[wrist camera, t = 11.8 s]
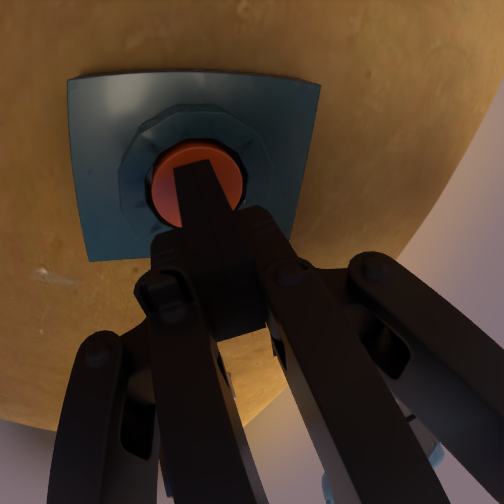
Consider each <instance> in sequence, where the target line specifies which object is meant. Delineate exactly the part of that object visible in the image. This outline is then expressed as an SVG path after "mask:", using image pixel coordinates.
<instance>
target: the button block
mask: <svg viewBox="0 0 504 504" xmlns="http://www.w3.org/2000/svg"><path fill="white" fill-rule="evenodd" d="M320 89H321V85H320V84H317V83H313V82H310V81H306V80H302V79H296V78H290V77H283V76H276V75H268V74H259V73H250V72H238V71H225V70H205V69H150V70H131V71H117V72H106V73H97V74H89V75H81V76H77V77H74V78H71V79H68V80H67V105H68V126H69V140H70V151H71V161H72V170H73V178H74V185H75V192H76V198H77V205H78V211H79V216H80V222H81V227H82V232H83V237H84V242H85V246H86V251H87V255H88V259H89V262H94V261H108V260H122V259H136V258H149V257H151V255H150V245H151V243H152V241H153V239H154V237H155V235H156V234H159V233H163V232H166V231H169V230H173V229H176V228H180V227H177V226H175V225H173V224H171V223H169V222H168V221H166V220H165V219H164V218H163V217H162V216H161V215H160V214H159V213H158V211H157V209H156V208H155V205H154V203H153V199H152V170H153V166H154V163H155V161H156V159H157V157H158V156H159V155H160V153H161V152H163V151H164V150H166V149H168V148H170V147H171V146H173V145H175V144H177V143H179V142H180V141H182V140H184V139H196V138H210V139H213V140H215V141H217V142H218V143H220V144H221V145H222V146H223V147H225V149H226V150H227V151H228V152H229V154H230V155H231V157H232V158H233V160H234V161H235V163H236V164H237V166H238V168H239V170H240V172H241V176H242V182H243V187H242V194H241V197H240V200H239V202H238V204H237V206H236V207H235V209H234V210H233V211H236V210H240V209H244V208H247V207H251V206H255V205H259V206H261V207H263V208H265V209H266V210H268V211H269V212H270V214H271V215H272V217H273V218H274V220H275V221H276V223H277V224H278V226H279V228H280V229H281V231H282V232H283V234H284V235H285V237H286V238H287V240H288V242H289V240H290V235H291V231H292V226H293V222H294V217H295V213H296V208H297V204H298V199H299V194H300V190H301V185H302V180H303V176H304V171H305V166H306V161H307V156H308V151H309V146H310V141H311V136H312V131H313V126H314V121H315V116H316V110H317V105H318V100H319V94H320Z"/></svg>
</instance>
